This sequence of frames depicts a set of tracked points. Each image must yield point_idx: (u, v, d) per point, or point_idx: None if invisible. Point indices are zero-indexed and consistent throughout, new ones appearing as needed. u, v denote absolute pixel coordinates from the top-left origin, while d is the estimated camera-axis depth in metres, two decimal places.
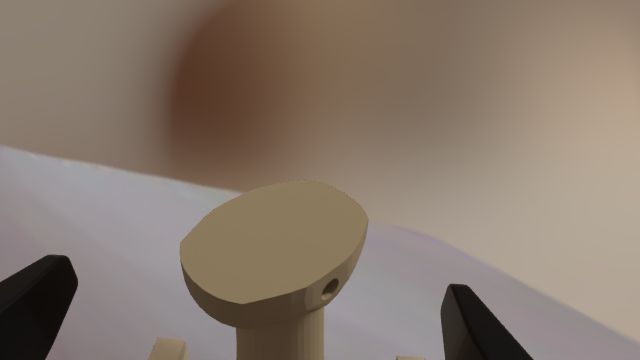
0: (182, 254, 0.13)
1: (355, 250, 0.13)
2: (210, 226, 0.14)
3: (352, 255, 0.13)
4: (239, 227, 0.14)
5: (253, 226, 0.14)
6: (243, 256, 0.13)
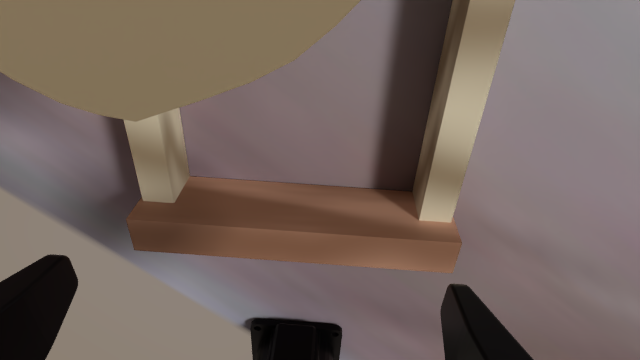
0: None
1: None
2: None
3: None
4: None
5: None
6: None
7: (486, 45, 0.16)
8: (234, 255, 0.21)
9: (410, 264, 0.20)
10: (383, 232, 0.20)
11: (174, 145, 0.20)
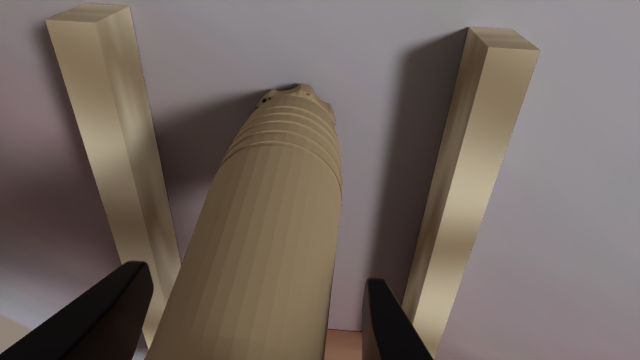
0: None
1: None
2: None
3: None
4: None
5: None
6: None
7: (453, 262, 0.18)
8: None
9: None
10: None
11: None
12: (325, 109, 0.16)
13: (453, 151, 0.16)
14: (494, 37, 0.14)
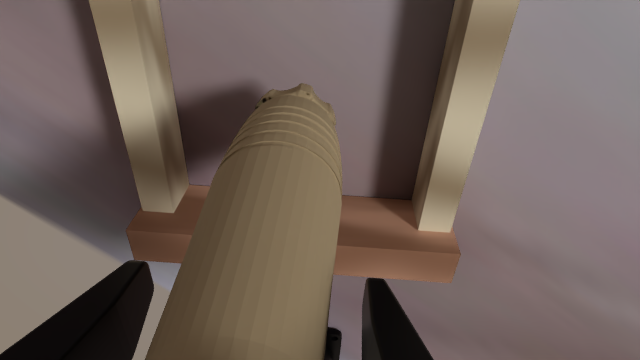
0: None
1: None
2: None
3: None
4: None
5: None
6: None
7: (485, 60, 0.16)
8: None
9: (409, 273, 0.20)
10: (382, 243, 0.20)
11: (173, 156, 0.20)
12: (325, 109, 0.16)
13: None
14: None
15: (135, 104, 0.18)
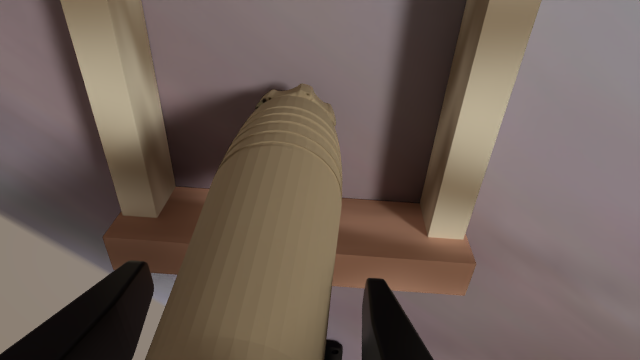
0: None
1: None
2: None
3: None
4: None
5: None
6: None
7: (508, 44, 0.14)
8: None
9: (418, 285, 0.18)
10: (389, 251, 0.18)
11: (156, 154, 0.18)
12: (325, 109, 0.16)
13: None
14: None
15: (110, 96, 0.16)
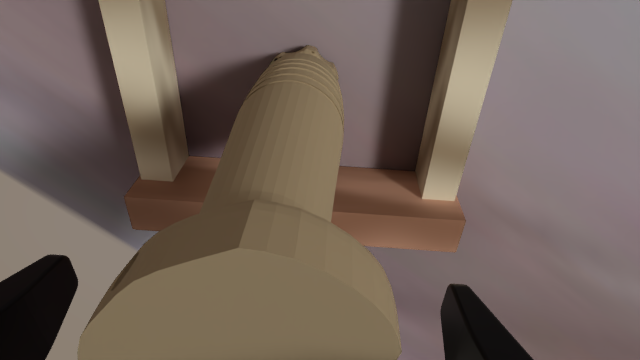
0: None
1: None
2: None
3: None
4: None
5: None
6: None
7: (492, 14, 0.15)
8: None
9: (413, 242, 0.20)
10: (386, 210, 0.19)
11: (173, 122, 0.20)
12: (328, 65, 0.18)
13: None
14: None
15: (134, 64, 0.17)
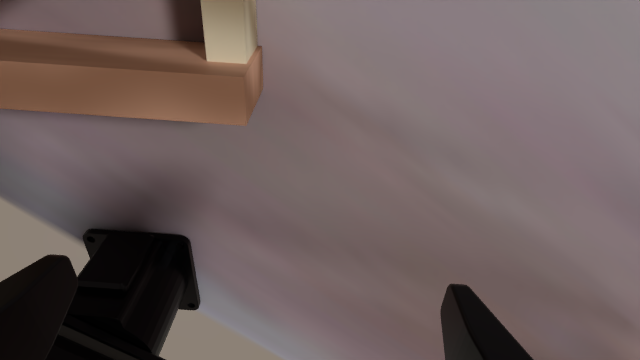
0: None
1: None
2: None
3: None
4: None
5: None
6: None
7: None
8: None
9: (191, 112, 0.16)
10: (150, 67, 0.16)
11: None
12: None
13: None
14: None
15: None
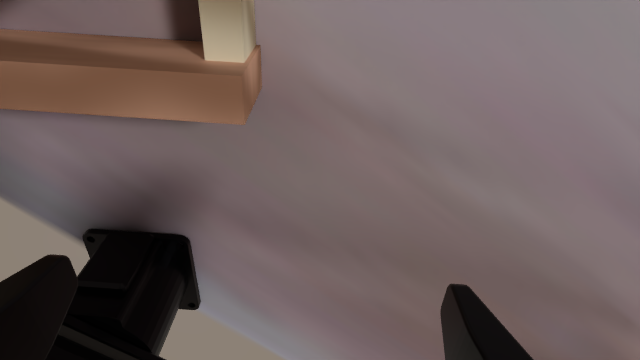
0: None
1: None
2: None
3: None
4: None
5: None
6: None
7: None
8: None
9: (189, 111, 0.16)
10: (148, 66, 0.16)
11: None
12: None
13: None
14: None
15: None
